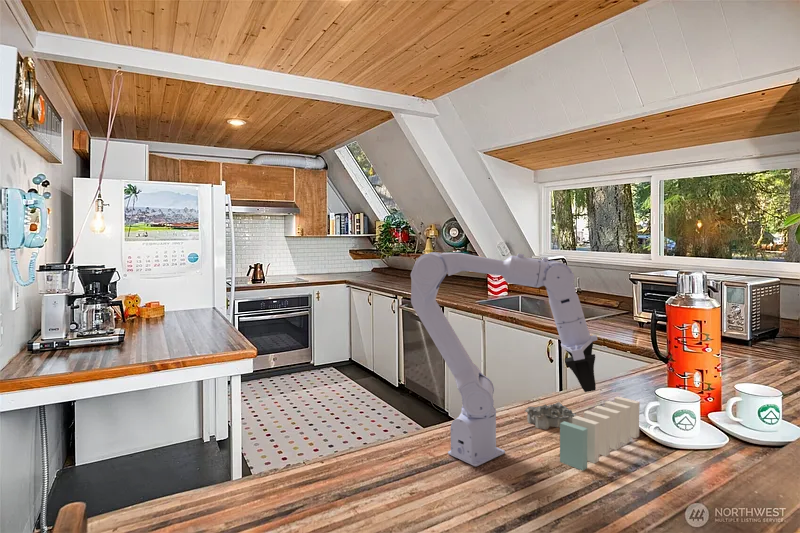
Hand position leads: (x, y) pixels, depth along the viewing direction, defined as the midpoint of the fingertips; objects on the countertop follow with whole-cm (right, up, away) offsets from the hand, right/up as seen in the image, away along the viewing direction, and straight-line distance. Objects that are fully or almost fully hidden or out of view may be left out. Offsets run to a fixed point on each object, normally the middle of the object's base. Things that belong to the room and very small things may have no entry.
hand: (589, 384), depth 98 cm
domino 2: (0, -16, +2) cm, 16 cm away
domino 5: (+10, -15, +11) cm, 21 cm away
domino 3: (+4, -16, +5) cm, 17 cm away
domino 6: (+14, -15, +14) cm, 25 cm away
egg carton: (-1, -15, +22) cm, 26 cm away
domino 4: (+7, -15, +8) cm, 19 cm away
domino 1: (-3, -16, -1) cm, 16 cm away
